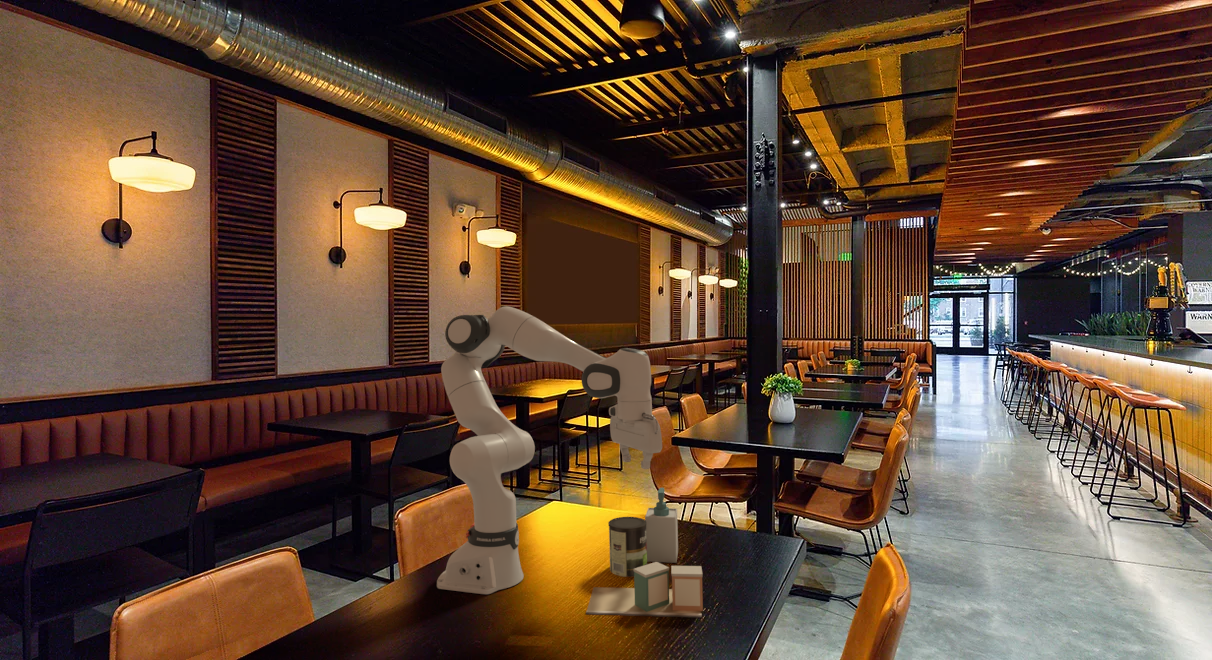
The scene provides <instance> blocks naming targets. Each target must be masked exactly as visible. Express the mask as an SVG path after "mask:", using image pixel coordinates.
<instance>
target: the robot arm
mask: <svg viewBox="0 0 1212 660" xmlns="http://www.w3.org/2000/svg"><path fill="white" fill-rule="evenodd" d="M444 335H445V336H444V337H445V340H446V342H447V344H448V345H449V347H450V348H451V349H452V350H453V351H454V353H453V355H451V356H449V357H448V358H446V359H445V360H444V361H443V363H442V364H441V367H440V369H441V370H440V371H441V377H442V382H443V386H444V389H445V393H446V395H447V398H448V400H449V403H450V405H451V409H452V410H453V413H454V415H455V417H456V420H457V422H458V424H460V425H461V427H463V428H465V429H467V430H470V431H472V432H473V433H474V434H476V435H475V436H471V437H468V438H466V439H464V440H461V441H460V442H457V443H456V444H455V445H453V447H452V449H451V452H450V455H449V465H450V469H451V471H452V472H453V474H454V475H455V476H456V477H457V478H458V479H460V480H461V481H463V483H464V484H466V486H467V488H468V490H469V492H470V495H471V498H472V503H473V519H474V520H473V522H472V524H470V527H469V528H468V529H467V532H466V533H465V539H467V541H466V542H465V543H463V544H462V545H461V546H460V547H459V548H457V549H456V550H455V551H454V552H453V553H452V554H451V555H450V556H449V558H448V560H447V563H446V568H445V570H444V571H443V572H442V573H441V574H440V575H439V576H438V578H437V580H436V588H437V589H438V590H447V591H456V592H463V593H470V594H471V593H472V594H480V595H490V594H494V593H495V592H497V591H500V590H505V589H507V588H511V587H513V586H516V585H518V584H519V583H521V582H522V581H523V579H524V576H525V574H524V572H523V569H522V565H521V561H520V555H519V544H520V539H519V538H520V537H519V535H520V533H519V531H520V530H519V525H518V523H517V498H516V496H515V493H514V492H512V490H510V489H509V488H507V487H504V485H503V483H502V477H501V476H502V474H503V473H508V472H512V471H514V470H518V469H520V468H522V467H523V466H525V465H527V464H529V463H530V462H531V461H532V460H533V458H534V456H535V450H536V446H535V442H534V440H533V437H532V436H531V434H530V433H529V432H528V431H526V430H523V429H521V428H519V427H518V426H517V425H515V424H514V423H512V421H511V420H510V419H509V418H508V417H506V415H505V414H504V413H503V412H502V411H501V409H500V408H499V406H498V405H497V403H496V401H495V399H494V397H493V395H492V392H491V390H490V388H489V386H488V384H487V382H486V380H485V377H484V374H483V371H482V369H485V368H488V367H489V366H490V365H491V364H492V363H493V362H495V361H496V360H497V359H499V358H500V357H501V355H502V354H503V352H504V350H505V347H506V348H507V347H508V348H509V349H510V350H512V351H514V352H516V353H517V354H518V355H520V356H522V357H525V358H527V359H530V360H533V361H536V362H555V363H563V364H567V365H570V366H572V367H574V368H576V369H577V370H579V371H581V372H582V375H581V385H582V389H583V390H584V391H585V393H586V394H587V395H588V396H590V397H592V398H597V399H606V398H610V397H614V396H615V397H616V398H617V403H616V404H615V405H613V406H610V407H609V408H608V414H609V417H610V420H609V431H610V438H611V441H612V442H613V443H616V444H619V450H620V452H621V455H622V457H621V458H622V462H624V463H630V462H631V461H632V459H631V458H632V455H631V454H630V451H629V448H631V449H635V450H638V451H640V452H642V456H643V459H642V460H641V461H640V467H641V469H644V470H649V469H651V461H652V459H653V456H654V454H657V453H661V451H662V449H663V439H662V430H661V426H660V423H659V421H658V419H657V418H656V416H655V415H654V414H653V405H652V403H653V401H652V395H651V386H652V368H651V362H650V356H649V354H647V353H646V351H644V350H641V349H637V348H630V347H629V348H628V347H624V348H623V347H622V348H620V349H619V350H617V352H615V353H613V354H612V355H610V356H608V357H605V356H603V355H601V354H599V353H597V352H595V351H593V350H591V349H589V348H588V347H585V346H584V345H581V344H579V343H577V342H575V341H573V340H571V338H568V337H567V336H565V335H564V334H562V333H561V332H559V331H558V330H556V329H555V328H553V327H552V326H550V325H549V324H547V323H545V322H544V321H543V320H541V319H539V318H537V317H536V316H534V315H531V314H530V313H528V312H525V310H521V309H518V308H515V307H512V306H505V305H504V306H501V307H499V308H498V309H496V311H494V313H493V314H492V316H490V317H489V318H487V317H486V316H485V315H484V314H462V315H456V317H453V318H452V319H451V320H450V321H449V322H448V323H447V325H446V328H445V332H444Z"/></svg>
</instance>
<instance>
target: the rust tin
mask: <svg viewBox="0 0 1212 660" xmlns="http://www.w3.org/2000/svg"><path fill="white" fill-rule="evenodd" d="M670 567H671V571H670V572H671V573H670V574H671V589H672V599H673V610H679V611H701V612H703V611H704V605H703V603H704V601H703V569H702V565H671V566H670Z"/></svg>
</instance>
